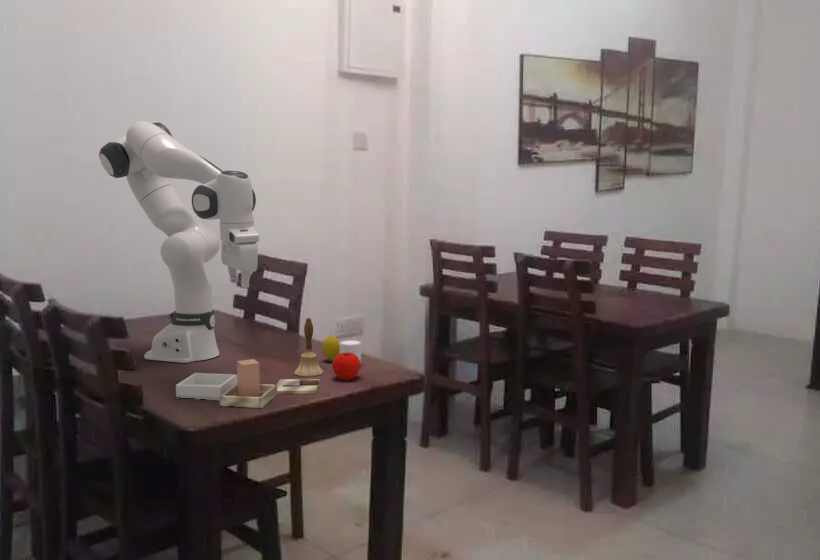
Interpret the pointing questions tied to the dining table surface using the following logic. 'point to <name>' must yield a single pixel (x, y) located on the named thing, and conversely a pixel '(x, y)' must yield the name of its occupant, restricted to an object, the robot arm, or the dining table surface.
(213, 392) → the white square tray
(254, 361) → the terracotta brick
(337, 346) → the lemon
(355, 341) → the white round tub
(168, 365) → the dining table surface
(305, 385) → the lid with scoop
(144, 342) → the dining table surface
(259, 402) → the birch bin
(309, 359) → the hand bell
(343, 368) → the apple
